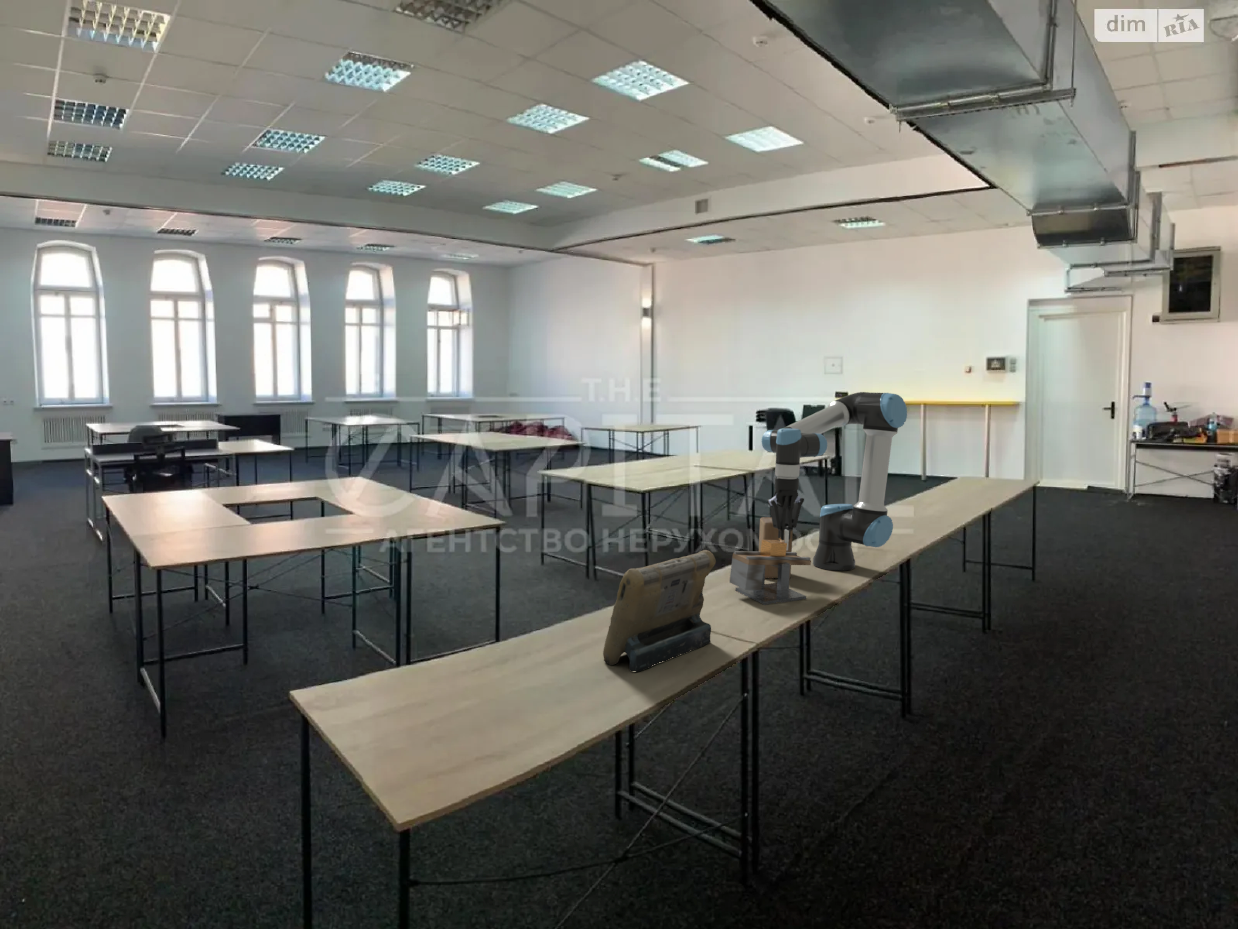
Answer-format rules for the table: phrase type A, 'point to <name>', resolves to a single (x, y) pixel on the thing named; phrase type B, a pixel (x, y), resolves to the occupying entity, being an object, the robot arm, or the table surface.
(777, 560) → the beam
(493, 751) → the table surface
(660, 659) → the tablet
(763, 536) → the wooden block
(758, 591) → the pivot stand
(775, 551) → the rider
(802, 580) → the table surface
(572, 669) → the table surface
